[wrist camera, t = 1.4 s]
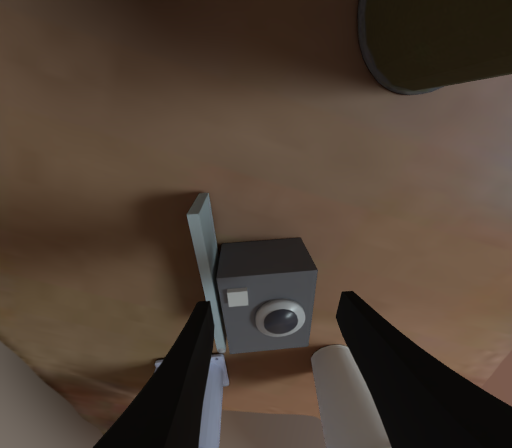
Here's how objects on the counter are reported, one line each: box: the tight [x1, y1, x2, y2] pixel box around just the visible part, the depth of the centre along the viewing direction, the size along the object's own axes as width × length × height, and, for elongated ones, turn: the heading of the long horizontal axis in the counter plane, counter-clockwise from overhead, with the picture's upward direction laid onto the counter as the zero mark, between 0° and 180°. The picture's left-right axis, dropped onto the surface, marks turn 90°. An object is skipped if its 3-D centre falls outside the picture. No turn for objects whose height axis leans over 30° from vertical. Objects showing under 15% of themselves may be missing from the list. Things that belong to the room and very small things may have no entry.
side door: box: [187, 193, 227, 353], centre depth 18 cm, size 1×15×4 cm, turn 2°
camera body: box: [216, 238, 318, 354], centre depth 20 cm, size 8×10×6 cm
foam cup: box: [311, 345, 392, 448], centre depth 25 cm, size 10×9×13 cm
